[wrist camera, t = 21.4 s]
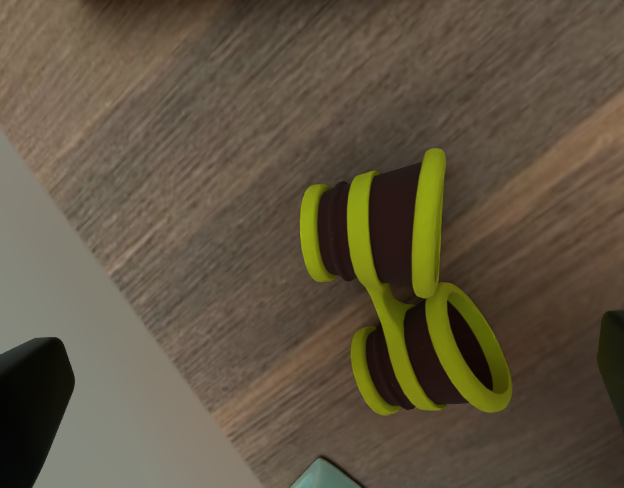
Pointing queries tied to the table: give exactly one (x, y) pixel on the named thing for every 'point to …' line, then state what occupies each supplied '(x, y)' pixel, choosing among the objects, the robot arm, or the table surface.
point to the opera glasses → (408, 272)
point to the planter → (324, 477)
